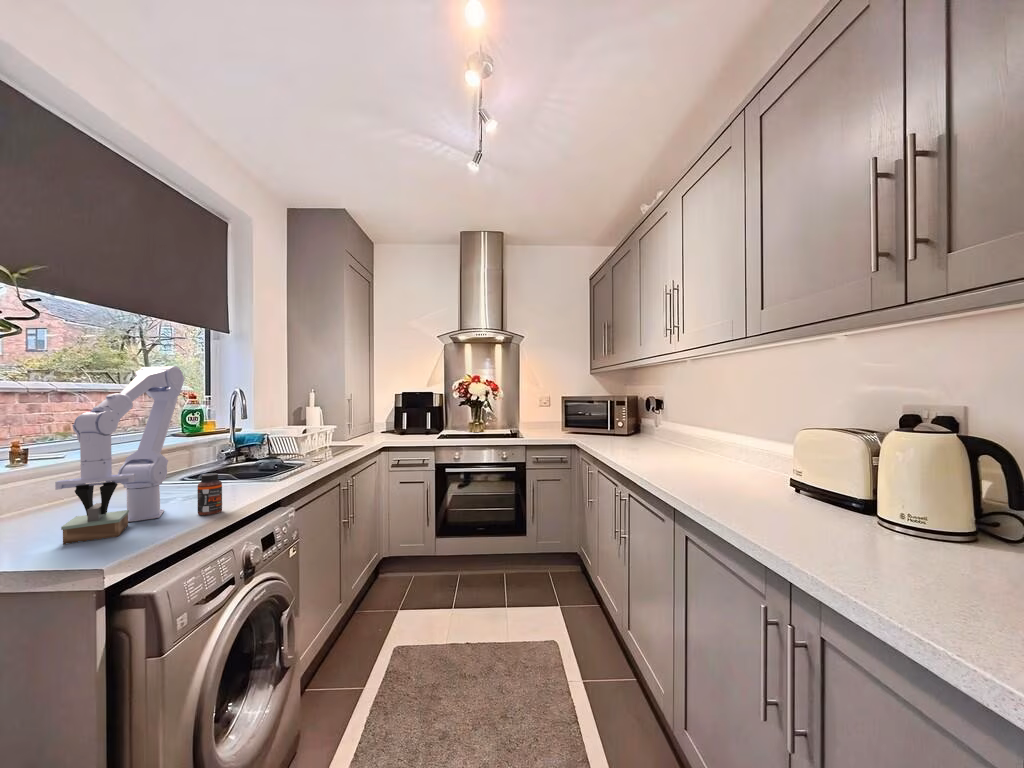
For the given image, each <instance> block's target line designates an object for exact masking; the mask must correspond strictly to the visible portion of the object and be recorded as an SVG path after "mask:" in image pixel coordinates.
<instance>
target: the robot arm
mask: <svg viewBox="0 0 1024 768" xmlns="http://www.w3.org/2000/svg"><path fill="white" fill-rule="evenodd" d="M184 382H185V378H184V375H183V372H182V370H181V369H180V367H178V366H176V365H173V366H172V365H171V366H143V367H140V368H139V369H138V370H137V371H135V373H134V379H132V380H131V381H130V382H129V383H128V384H127V386H125V387H124V389H122V391H120V392H119V393H118V392H117V393H115V392H114V393H112V394H111V393H109V394H107V395H106V396H105V399H103V401H101V402H100V403H99V404H97V405H95V406H94V407H93V408H92V409H91V410H90V412H83V413H81V414H80V415H77V417H76V418H75V419H74V423H73V424H72V430H73V431H74V433H75V434H76V437H77V438H76V439H77V442H78V443H79V444H80V445H79V448H80V449H79V451H80V452H79V453H80V457H79V458H80V459H79V461H80V477H77V478H76V477H75V478H71V479H61V480H56V481H55V486H54V488H55V491H56V490H62V489H72V488H75V490H74V493H75V495H76V496H77V497H78V499H79V500H80V501H81V503H82V505H83V508H84V509H85V513H86V514H87V510H88V509H89V508H90V507H92V506H93V505H94V501H93V500H94V488H95V487H94V486H100V487H99V492H100V500H101V502H100V503H101V514H106V513H108V510H109V509H108V508H109V504H110V501H111V499H112V496H113V495H114V492H115V490H116V489H117V486H118V485H119V484H121V485H123V489H126V510H129V513H128V523H132V522H137V521H138V522H139V521H146V520H147V521H148V520H153V519H159V518H160V517H162V515H163V513H164V512H165V509H164V508H162V509H161V491H160V485H162V484H163V482H164V481H165V479H166V478H167V476H168V463H169V460H168V458H167V457H166V456H165V455H163V454H162V453H161V452H162V450H163V447H164V443H165V440H166V437H167V434H168V430H169V429H170V428H169V427H170V426H171V425H170V424H171V421H172V418H173V415H174V412H175V410H176V405H177V403H178V402H177V401H178V398H179V396H180V394H181V391H182V389H183V385H184ZM144 393H146V395H147V396H148V397H150V398H152V399H153V404H152V407H151V410H150V412H149V415H148V419H147V422H146V424H145V428H144V430H143V433H142V436H141V439H140V442H139V445H138V448H137V450H136V451H135V452H133V453H131V454H130V455H127V457H126V458H125V460H124V463H123V464H122V465H121V466H120V467H119V469H118V471H117V474H113V472H112V471H113V470H112V469H113V466H112V465H113V464H112V463H113V462H112V461H113V460H112V434H113V433H115V432H116V430H117V429H118V425H119V422H121V421H120V420H121V419H122V418H123V417H124V416H125V415H127V413H128V412H129V411H131V410H132V409H133V407H134V403H133V402H134V401H135V400H136V399H139V397H141V396H142V395H143V394H144Z"/></svg>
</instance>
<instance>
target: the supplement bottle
mask: <svg viewBox="0 0 1024 768" xmlns="http://www.w3.org/2000/svg"><path fill="white" fill-rule="evenodd" d="M222 511H223V483H222V481H221V480H220V479H219V473H216V472H214V473H213V472H211V473H205V474H204V473H203V474H202V475H201V480H200V482H199V483H198V484H197V515H198V516H213V515H217V514H219V513H221V512H222ZM212 514H213V515H212Z"/></svg>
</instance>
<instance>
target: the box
mask: <svg viewBox="0 0 1024 768" xmlns="http://www.w3.org/2000/svg"><path fill="white" fill-rule="evenodd" d="M127 526H128V527H129V522H128V514H127V515H126V516H125V517H124V518H123V519H122V520H121V521H120V522H117V523H110V524H102V525H95V526H87V527H80V528H72V529H65V530H62V545H67V544H66V543H70V544H73V543H72V542H77V543H79V542H78V541H83V542H88V541H87V540H90V541H95V540H94V539H97V540H103V539H102V538H104V539H109V538H110V537H111V538H116V537H120V536H121V534H122V533H123V532H124V531H125V530H126V529H127V528H128V527H127ZM126 527H127V528H126ZM125 528H126V529H125Z"/></svg>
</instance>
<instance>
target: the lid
mask: <svg viewBox="0 0 1024 768" xmlns="http://www.w3.org/2000/svg"><path fill="white" fill-rule="evenodd" d="M128 513H129V510H127V509H126V510H118V511H109V512H108V511H107V513H106V514H101V502H96V503H94V504H93V506H92V507H90V508H89V509H88V510H87V513H86V515H85V514H83V515H78V516H77V515H76V516H75V517H73V518H72V519H70V520H68V522H66V523H65V524H63V525H62V526H61V527H60V528H61V529H60V530H61V531H63V530H65V529H72V528H80V527H87V526H95V525H102V524H110V523H117V522H120V521H121V520H122V519H123V518H124V517H125V516H126V515H127V514H128Z"/></svg>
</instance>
